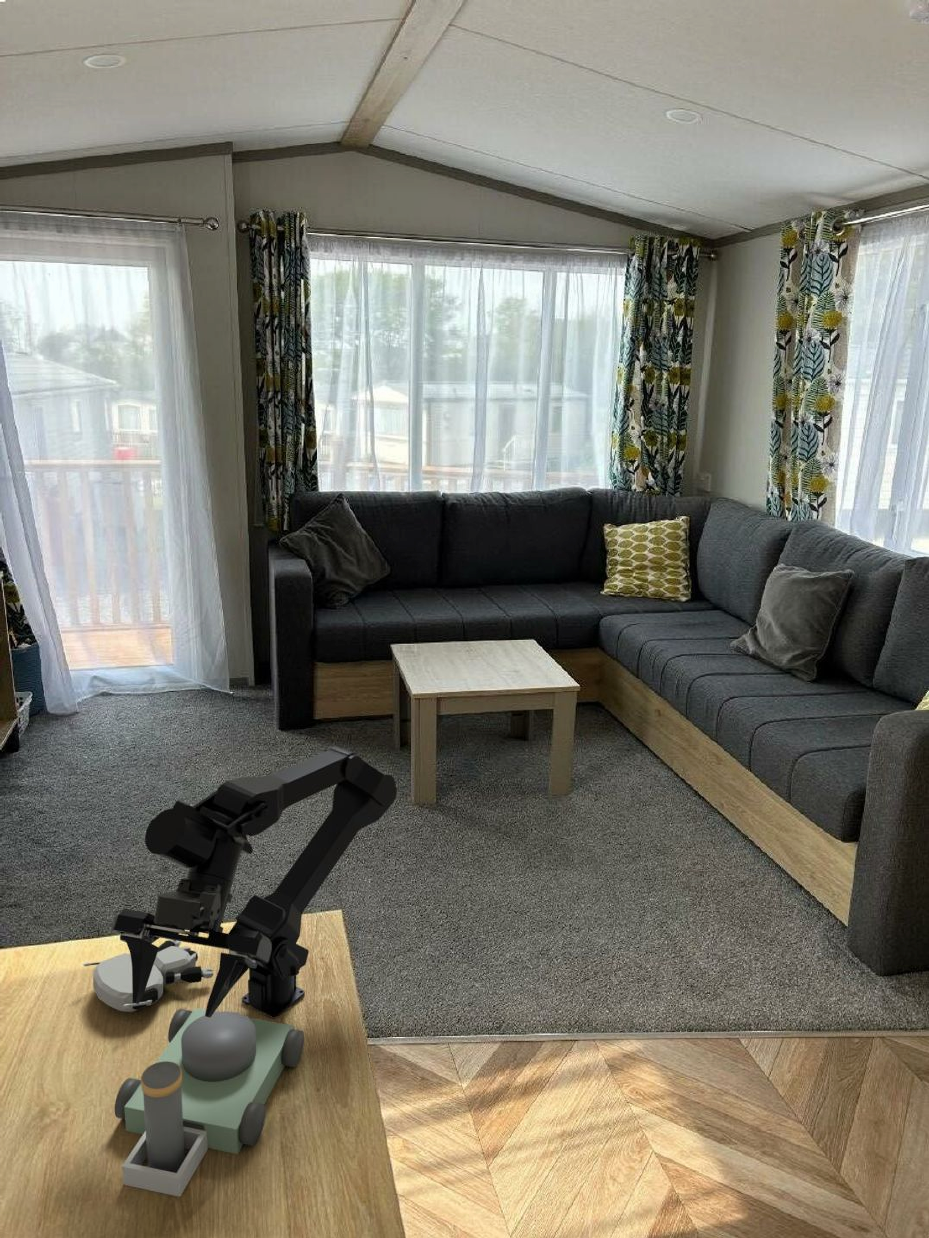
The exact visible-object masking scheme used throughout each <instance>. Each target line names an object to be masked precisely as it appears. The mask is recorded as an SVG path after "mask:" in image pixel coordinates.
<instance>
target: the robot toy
mask: <svg viewBox="0 0 929 1238" xmlns="http://www.w3.org/2000/svg"><path fill="white" fill-rule="evenodd" d="M181 942H182V941H176V940H170V939H169V940H165V941H164V942H163V943H161V944H160V945H159V946H158V947H159V950H158V953H157V956H156V959H155V962H154V965H153V968H152V971H151V974H150V977H149V980H148V983H147V986H146V989H145V992H144V994H143V996H142V998H141V1000H140V1002H139V1004H135V1003H133V994H132V962H131V955H130V953H127V952H124V953H122V954H121V953H120V954H119V955H115V956H113V957H110V958H107V959H105V960H102V961H97V962H96V961H95V962H94V961H93V962H85V963H83V966H84V967H90V966H95V967H94V970H93V973H92V975H93V976H92V986H93V989H94V992H95V994H96V995H97V997H98V999H99V1000H100V1001H102V1002H103V1003H104V1004H106V1005H107V1006H109V1007H111V1008H113V1009H115V1010H116V1011H120V1012H127V1013H133V1012H136V1011H139V1010H141V1009H143V1008H146V1007H148V1006H151V1005H153V1004H156V1003H157V1002H158V1000H159V999H161V997H162V996H163V993H164V986H168V985H172V984H178V983H181V982H184V983H188V984H193V983H194V984H195V983H201V982H202V978H203V979H211V978H212V977H213V976H214V970H213V968H212V967H206V968H202V966H201V965H199V966H198V965H196V964H197V961H198V959H199V957H198V953H197V952H196V951H195V950H191V947H188V946H181V947H180V945H181V944H182V943H181Z"/></svg>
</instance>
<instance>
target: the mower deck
mask: <svg viewBox="0 0 929 1238" xmlns="http://www.w3.org/2000/svg"><path fill="white" fill-rule="evenodd" d="M205 1013H206V1009H204V1008H198V1007H195V1008H193V1009H192V1010H190V1009H184V1008H179V1009H177V1010H176V1011H175V1012H174V1014H173V1016H172V1018H171V1021H170V1023H169V1027H168V1035H167V1039H168V1042H169V1044H168V1045H167V1046H166V1048H165V1050H164V1051H163V1052H162V1053H161V1055H160V1056H159V1058H158V1059H157V1060H156V1062H155V1063H158V1062H164V1061H169V1062H174V1063H176V1064H178V1065H179V1066H180V1068H181V1070H182V1084H181V1093H182V1112H183V1132H184V1150H185V1149H186V1150H189V1152H188V1153H187V1155H186V1156H185V1160H184V1162H183V1163H182V1165H181V1167H180V1168H179V1170H178V1172H177V1173H173V1172H169V1171H164V1170H159V1169H154V1168H150V1167H148V1166H145V1165H143V1163H144V1162H145V1161H146V1159H147V1143H146V1128H145V1112H144V1097H143V1091H142V1088H141V1079H137V1078H133V1077H128V1078H126V1079H125V1081H124V1082H123V1083H122V1084H121V1086H120V1087H119V1090H118V1091H117V1095H116V1099H115V1103H114V1115H115V1117H116V1118H117V1119H121V1120H124V1121H125V1131H126V1132H129V1133H132V1134H133V1133H134V1134H139V1135H142V1136H141V1137H140V1138H139V1140H138V1141H137V1143H136V1144H135V1145H134V1148H133V1149H132V1150H131V1152H130V1154H129V1155H128V1156H127V1157H126V1160H125V1161H124V1162H123V1164H122V1165H121V1173H122V1174H121V1175H122V1185H124V1186H128V1187H132V1188H133V1187H134V1188H138V1189H141V1190H146V1191H151V1192H156V1193H160V1194H164V1195H170V1196H175V1197H179V1198H181V1196H182V1194H183V1192H184V1191H185V1189H186V1187H187V1186H188V1184H189V1182H190V1181H191V1179H192V1177H193V1175H194V1174H195V1172H196V1170H197V1169H198V1167H199V1165H200V1163H201V1162H202V1160H203V1158H204V1157H205V1154H206V1153H207V1151H208V1149H211V1150H215V1151H221V1152H226V1153H230V1154H236V1155H238V1154H239V1152H240V1150H241V1149H242V1146H243V1145H248V1146H252V1147H253V1146H255V1145H256V1144H257V1143H258V1141H259V1139H260V1138H261V1135H262V1132H263V1128H264V1124H265V1119H266V1107H265V1103H266V1101H267V1100H268V1098H269V1097H270V1094H271V1092H272V1090H273V1089H274V1087H275V1085H276V1083H277V1081H278V1079H279V1078H280V1076H281V1074H282V1071H283V1070H284V1068H285V1067H290V1068H296V1067H297V1066H298V1064H299V1063H300V1060H301V1058H302V1055H303V1051H304V1045H305V1032H304V1031H303V1030H299V1029H296V1028H295V1025H292V1024H286V1023H281V1022H276V1021H270V1020H265V1019H259V1018H253V1017H248V1016H246V1015H244V1014H242V1013H239V1012H235V1011H215V1012H214V1013H213V1015H212V1016H211V1017H206V1016H205Z"/></svg>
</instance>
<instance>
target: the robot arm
mask: <svg viewBox="0 0 929 1238" xmlns="http://www.w3.org/2000/svg"><path fill="white" fill-rule="evenodd" d="M333 786H334V789H333V791H332V804H331V805H332V806H331V810H330V811H329V814H328V815H327V817H326V818H325V819H324V820H323V822H322V824H321V825H320V826H319V828H318V829H317V831H316V832H315V833H314V835H313V836H312V838H311V839H310V841H309V842H307V845H305V847H304V849H303V850H302V852H301V853H300V855H299V856H297V859H296V860H295V862H294V863H293V864H292V866H291V867H290V869H289V870H288V871H287V873H286V874H285V876H284V877H283V878H282V880H281V881H280V883H279V884H278V886H276V888H275V889H274V890H273V892H272V893H270V894H268V895H266V896H264V897H261V896H260V895H257V894H254V895H253V896H252V897H251V898H250V899H248V902H247V903H246V905H245V907H244V908H243V910H241V912H240V913H239V914H237V916H235V918H234V919H235V920H236V921H235V923H234V925H233V926H232V928H231V929H230V930H229V932H223V931H224V927H222V926H221V925H222V922H223V919H224V914H225V911H226V909H227V908H226V907H227V904H232V903H231V902H232V899H233V894H231V890H232V887H233V884H234V883H233V882H234V880H235V876H236V872H237V869H238V866H239V861H240V858H241V854H245V855H251V854H253V853H254V849H253V847H252V844H251V843H250V841H249V840H248V837H247V836H249V837H255V836H258V835H260V834H262V833H263V832H265V831H266V830H267V829H269V828H271V827H272V826H273V825H275V824H276V823H277V822H279V821H280V818H281V816H282V814H283V813H284V811H285V810H286V809H288V808H289V807H291V806H294V805H297V803H299V802H302V801H304V800H306V799H308V798H310V797H312V796H314V795H317V794H318V793H321V792H323V791H325V790H327V789H329V788H331V787H333ZM397 795H398V788H397V786H396V781H395V777H393V776H392V774H389V773H386V772H383V771H380V770H378V769H376V768H375V767H373V766H372V765H371V764H369V763H367V762H366V761H365V760H364V759H363V758H362V757H360V756H359V754H358V753H356V752H353V751H350V750H347V749H345V748H342V747H339V746H336V745H334V746H327V748H325V749H324V751H323V752H321V753H319V754H315V755H314V756H312V757H309V758H308V759H307V758H306V759H305V760H303V761H301V762H298V763H295V764H293V765H291V766H289V767H286V768H284V769H281V770H279V771H277V772H275V773H272V774H270V775H265V776H243V777H239V778H234V779H228V780H227V781H224V782H223V783H221V784H220V785H219V787H218V788H217V790H215V791H213V792H212V793H211V794H209V795H208V796H206V797H205V798H203V799H202V800H201V801H199V802H197V803H195V804H194V805H193V806H191V804H187V803H186V802H183V801H181V800H179V799H178V800H176V802H175V803H174V805H173V807H172V808H167V809H165V810H163V811H161V812H160V813H159V814H157V815H156V816H155V817H154V818H153V819H151V820H150V822H149V824H148V826H147V828H146V832H145V835H144V836H145V837H144V842H145V847H146V849H147V850H148V851H149V853H151V854H153V855H155V856H157V857H160V858H162V859H164V860H166V861H169V862H171V863H173V864H176V865H177V866H180V867H181V868H183V869H184V868H185V869H188V870H187V873H186V878H181V879H180V881H179V883H178V886H177V889H176V890H175V891H167V892H165V893H162V894H158V895H157V900H156V906H155V910H154V911H155V913H154V915H153V914H152V913H150V912H145V911H139V910H135V909H129V908H128V909H127V908H123V909H122V910H120V911H119V912H118V913H117V914H116V915H115V918H114V921H113V924H112V926H111V931H112V932H114V933H117V934H118V935H119V940H120V941H122V942H124V943H126V946H127V947H128V951H129V954H130V955H131V962H132V994H133V1003H135V1004H139V1002H140V1000H141V998H142V996H143V994H144V992H145V989H146V986H147V983H148V980H149V977H150V974H151V971H152V968H153V965H154V962H155V959H156V956H157V953H158V950H159V946H158V945H155V944H153V943H155V942H156V941H158V940H159V939H167V940H169V941H170V940H176V941H180V942H182V943H183V942H185V943H188V944H189V943H190V944H195V945H201V946H206V947H211V948H212V947H213V948H217V949H223V950H228V953H225V952H220V956H219V966H218V967H219V969H218V972H217V974H216V977H215V980H214V982H213V986H212V989H211V991H210V995H209V997H208V1000H207V1003H206V1008H205V1010H206V1013H205V1016H206V1017H211V1016H212V1015H213V1013H214V1012H217V1011H216V1010H217V1009H218V1007H219V1006H220V1005H221V1004H222V1002H223V1001H224V999H225V998H226V996H227V995H228V993H230V991H231V990H232V988H233V987H234V986H235V985H236V983H237V982H238V981H240V979H241V978H242V977H244V975H245V974H246V972H247V971H248V976H249V977H248V978H249V979H248V980H247V993H246V994H244V995H243V996H242V997H241V1002H242V1003H243V1004H245V1005H246V1006H249V1007H251V1008H253V1009H255V1010H257V1011H258V1012H260V1013H262V1014H265V1015H267V1016H268V1017H270V1018H273V1019H275V1018H276V1019H277V1018H278V1017H280V1015H282V1014H284V1013H285V1012H286V1011H287V1010H288V1009H290V1007H292V1006H293V1005H294V1004H295V1003H296V1002H298V1001H299V1000H300V999H302V998H303V997H304V996H306V995H305V993H306V991H305V990H304V989H303V988H301V987H299V986H297V976H298V975H299V974H300V970H301V969H302V968H303V967H304V966H306V964H307V962H308V961H307V960H308V956H309V952H310V951H309V949H307V948H306V947H303V946H302V945H300V944H298V940H299V939H300V937H301V929H302V918H303V917H302V916H303V913H304V911H305V910H306V909H307V906H308V905H310V903H311V901H312V900H313V898H314V897H315V895H317V892H318V891H319V889H321V886H322V885H323V883H324V882H325V880H326V879H327V878H328V877H329V875H330V873H331V871H333V869H334V868H335V866H336V865H337V863H338V862H339V860H340V859H341V857H342V856H343V854H344V853H345V851H347V849H348V847H349V846H350V844H351V842H352V841H353V840H354V839H355V837H356V835H357V834H358V833H359V831H360V830H362V829H364V828H366V827H369V826H370V825H371V824H374V823H375V822H377V821H379V820H380V819H381V818H382V816H383V815H385V813H386V812H387V811H388V810H389V808H391V806H392V805H393V804H394V802H395V801H396V798H397ZM200 933H201V934H206V935H207V937H206V936H199V935H200Z"/></svg>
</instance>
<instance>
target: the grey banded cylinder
mask: <svg viewBox="0 0 929 1238" xmlns="http://www.w3.org/2000/svg"><path fill="white" fill-rule="evenodd" d="M140 1080H141V1088H142V1091H143V1097H144V1112H145V1128H146V1143H147V1157H146V1159H147V1167H150V1168H154V1169H159V1170H164V1171H169V1172H173V1173H177V1172H178V1170H179V1168H180V1167H181V1165H182V1163H183V1162H184V1160H185V1158H186V1156H185V1155H186V1153H185V1148H184V1132H183V1112H182V1093H181V1084H182V1070H181V1068H180V1066H179V1065H178V1064H176V1063H174V1062H169V1061H164V1062H158V1063H156V1062H155V1063H153V1064H150V1065H149V1066H148V1067H147V1068H145V1069H144V1071H143V1072H142V1074H141V1076H140Z"/></svg>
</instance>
